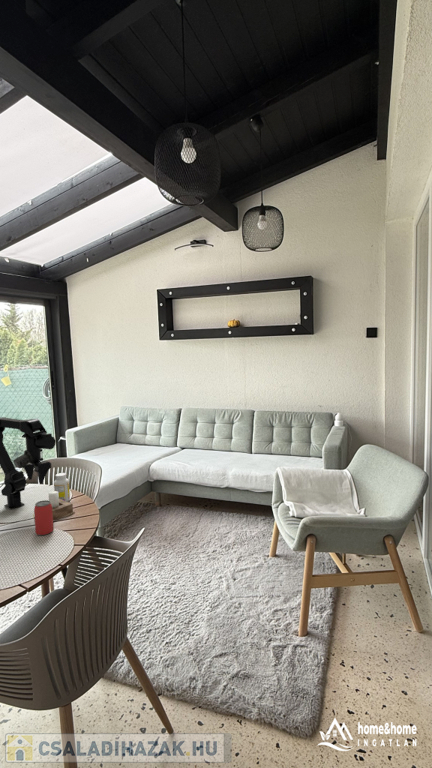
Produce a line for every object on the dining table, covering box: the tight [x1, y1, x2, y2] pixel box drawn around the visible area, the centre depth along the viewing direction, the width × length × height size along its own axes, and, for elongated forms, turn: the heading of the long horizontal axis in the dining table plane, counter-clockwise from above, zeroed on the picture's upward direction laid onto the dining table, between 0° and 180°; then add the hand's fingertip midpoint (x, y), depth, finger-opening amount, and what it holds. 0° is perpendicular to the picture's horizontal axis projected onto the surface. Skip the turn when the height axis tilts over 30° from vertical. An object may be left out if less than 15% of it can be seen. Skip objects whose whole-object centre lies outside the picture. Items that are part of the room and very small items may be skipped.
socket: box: [52, 499, 75, 522], centre depth 181 cm, size 12×12×4 cm
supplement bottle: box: [53, 472, 71, 502], centre depth 196 cm, size 7×7×13 cm
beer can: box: [33, 499, 54, 536], centre depth 163 cm, size 7×7×12 cm
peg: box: [48, 490, 59, 508], centre depth 181 cm, size 4×4×9 cm
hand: (35, 481), depth 185 cm, fingers open, 9 cm apart
